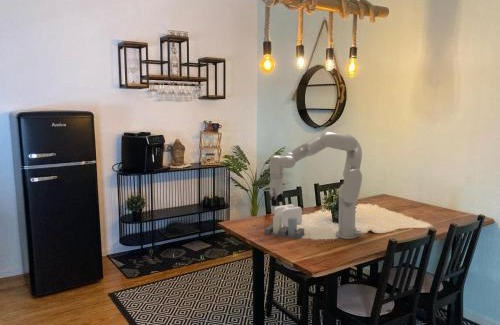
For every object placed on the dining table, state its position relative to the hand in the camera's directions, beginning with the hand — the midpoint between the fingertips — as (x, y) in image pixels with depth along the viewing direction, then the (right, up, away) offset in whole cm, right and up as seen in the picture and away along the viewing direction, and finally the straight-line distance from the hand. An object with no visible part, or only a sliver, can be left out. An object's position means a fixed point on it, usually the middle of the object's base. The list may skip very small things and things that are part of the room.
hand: (277, 203), depth 234 cm
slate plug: (+9, -18, -2) cm, 20 cm away
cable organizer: (+9, -16, +23) cm, 29 cm away
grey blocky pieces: (+5, -19, +1) cm, 20 cm away
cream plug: (0, -18, +3) cm, 18 cm away
